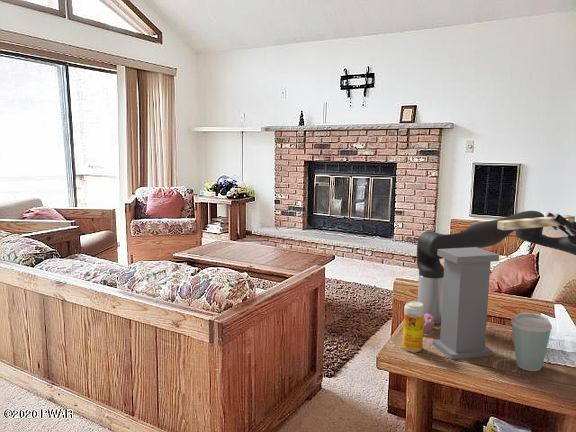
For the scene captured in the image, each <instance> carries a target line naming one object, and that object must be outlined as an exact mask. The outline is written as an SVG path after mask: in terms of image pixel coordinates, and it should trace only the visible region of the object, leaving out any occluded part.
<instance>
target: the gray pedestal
mask: <svg viewBox="0 0 576 432" xmlns="http://www.w3.org/2000/svg"><path fill="white" fill-rule="evenodd" d="M437 255H438V256H440V257H443V259H444V262H443V263H444V264H443V267H444V278H443V296H442V315H441V323H440V335H439V338H440V339H434V340H432V346H434V347H435V348H436V349H437V350H439V351H440V352H441V353H443V354H444V355H445V356H446V357H447V358H449V359H451V360H460V359H468V358H469V359H470V358H478V357H488V356H493V350H492V349H490V348H489V347H488V346H486V336H487V335H486V334H487V333H486V332H487V319H488V307H489V305H488V304H489V293H490V292H489V289H490V278H491V277H490V276H491V274H490V273H491V263H493V262H499V259H500V254H498V253H495V252H492V251H489V250H486V249H483V248H478V247H469V248H449V249H438V251H437Z"/></svg>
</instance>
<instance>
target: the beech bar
mask: <svg viewBox="0 0 576 432" xmlns="http://www.w3.org/2000/svg"><path fill="white" fill-rule="evenodd" d="M555 216H556V215H555ZM555 216H551V217H539V218H527V219H515V220H503V221H498V222H497V229H500V230H514V229H525V228H536V227H545V228H547V227H552V226H559V225H561V224H559V223H558V222H556V221H555V220H554V217H555ZM561 216H562V217H564V218H565V219H569V220H570V221H575V222H576V216H574V215H570V214H566V215H565V214H564V215H561Z"/></svg>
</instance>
